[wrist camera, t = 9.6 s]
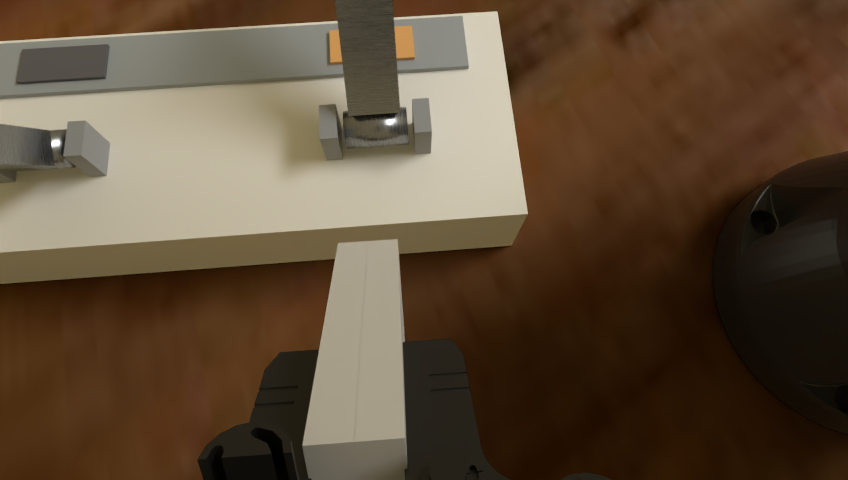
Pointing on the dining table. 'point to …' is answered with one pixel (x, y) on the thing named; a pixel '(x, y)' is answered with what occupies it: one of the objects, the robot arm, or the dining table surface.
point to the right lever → (370, 75)
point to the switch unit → (252, 149)
